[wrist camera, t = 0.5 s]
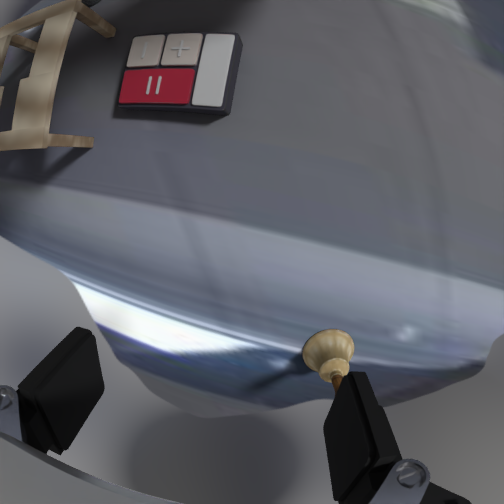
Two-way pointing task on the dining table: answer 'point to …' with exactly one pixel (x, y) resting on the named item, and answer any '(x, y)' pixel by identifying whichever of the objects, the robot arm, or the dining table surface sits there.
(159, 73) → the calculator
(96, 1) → the peg
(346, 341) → the hand bell
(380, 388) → the dining table surface
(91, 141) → the shelf
